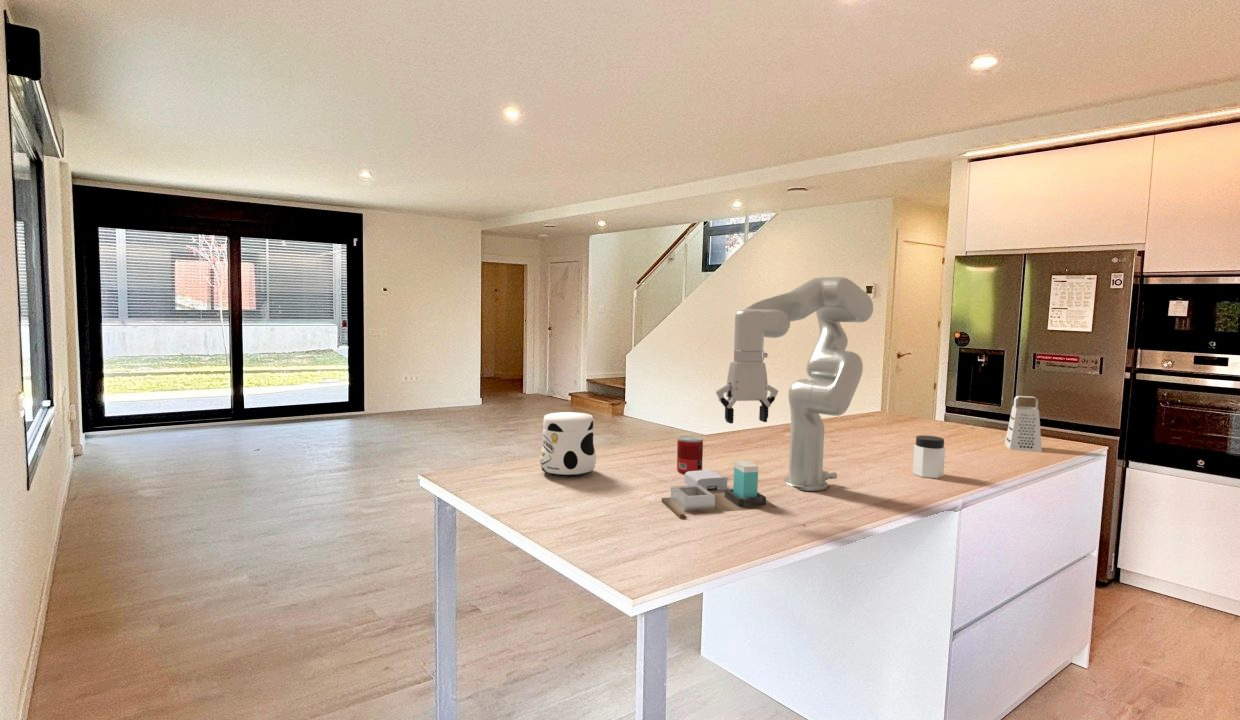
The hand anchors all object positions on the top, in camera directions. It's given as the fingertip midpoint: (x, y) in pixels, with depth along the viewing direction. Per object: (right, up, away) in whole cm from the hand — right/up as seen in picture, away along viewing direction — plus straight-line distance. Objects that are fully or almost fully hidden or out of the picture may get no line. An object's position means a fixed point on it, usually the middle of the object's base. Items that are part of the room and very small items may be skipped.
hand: (746, 421), depth 171 cm
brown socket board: (-7, -22, 0) cm, 23 cm away
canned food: (-11, -19, +35) cm, 41 cm away
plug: (0, -21, +2) cm, 21 cm away
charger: (-10, -21, +18) cm, 29 cm away
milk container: (-50, -19, +31) cm, 61 cm away
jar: (+65, -21, +36) cm, 77 cm away
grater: (+123, -18, +80) cm, 147 cm away
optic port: (-15, -22, -2) cm, 27 cm away
